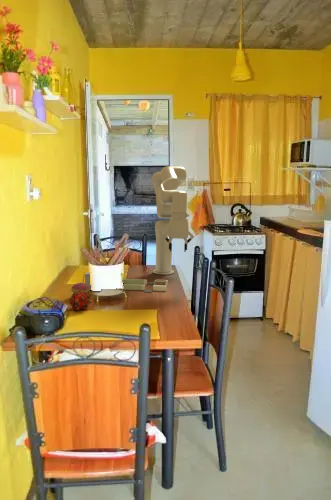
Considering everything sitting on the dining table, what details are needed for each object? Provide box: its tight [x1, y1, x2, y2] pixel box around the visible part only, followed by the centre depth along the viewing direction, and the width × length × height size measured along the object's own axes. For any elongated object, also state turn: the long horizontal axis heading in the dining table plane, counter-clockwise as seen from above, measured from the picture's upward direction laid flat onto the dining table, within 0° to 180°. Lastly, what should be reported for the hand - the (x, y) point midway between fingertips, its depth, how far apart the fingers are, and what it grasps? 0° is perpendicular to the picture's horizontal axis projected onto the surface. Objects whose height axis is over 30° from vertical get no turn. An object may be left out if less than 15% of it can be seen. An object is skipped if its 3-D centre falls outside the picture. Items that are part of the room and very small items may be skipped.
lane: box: [122, 278, 169, 292], centre depth 217 cm, size 12×25×2 cm, turn 87°
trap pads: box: [143, 281, 155, 294], centre depth 218 cm, size 21×4×1 cm, turn 177°
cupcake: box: [71, 272, 91, 294], centre depth 194 cm, size 9×8×12 cm
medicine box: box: [84, 272, 91, 290], centre depth 208 cm, size 8×4×9 cm, turn 84°
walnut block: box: [154, 278, 166, 286], centre depth 217 cm, size 5×5×4 cm
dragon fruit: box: [69, 291, 92, 312], centre depth 178 cm, size 8×8×12 cm
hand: (177, 250), depth 214 cm, fingers open, 6 cm apart
